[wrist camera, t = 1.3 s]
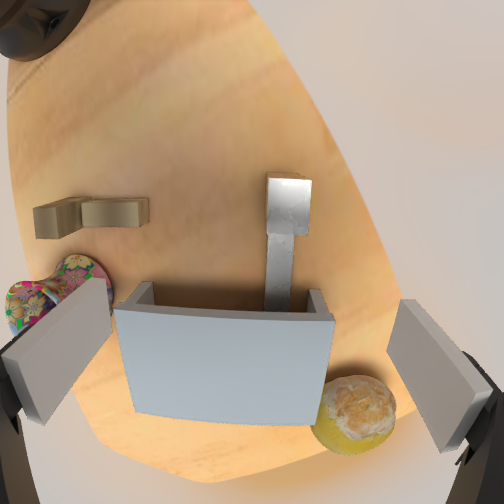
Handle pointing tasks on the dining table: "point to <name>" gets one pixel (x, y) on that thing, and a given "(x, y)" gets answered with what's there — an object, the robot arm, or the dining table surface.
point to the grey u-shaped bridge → (225, 361)
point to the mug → (50, 291)
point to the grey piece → (283, 233)
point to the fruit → (354, 414)
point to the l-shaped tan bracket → (88, 215)
